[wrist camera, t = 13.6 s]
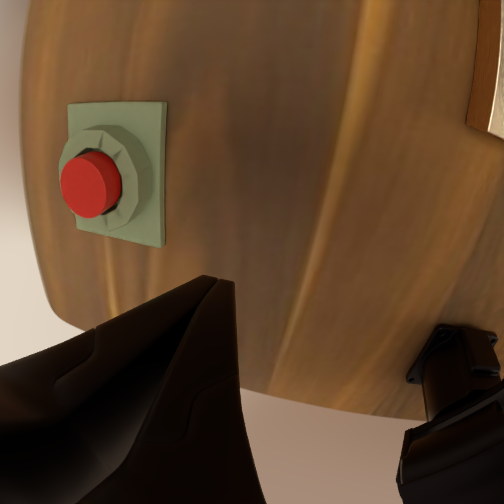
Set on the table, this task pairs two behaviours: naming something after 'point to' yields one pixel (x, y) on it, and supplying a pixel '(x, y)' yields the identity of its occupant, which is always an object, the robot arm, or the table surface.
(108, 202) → the button
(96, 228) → the switch block
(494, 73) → the panel
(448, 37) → the table surface
